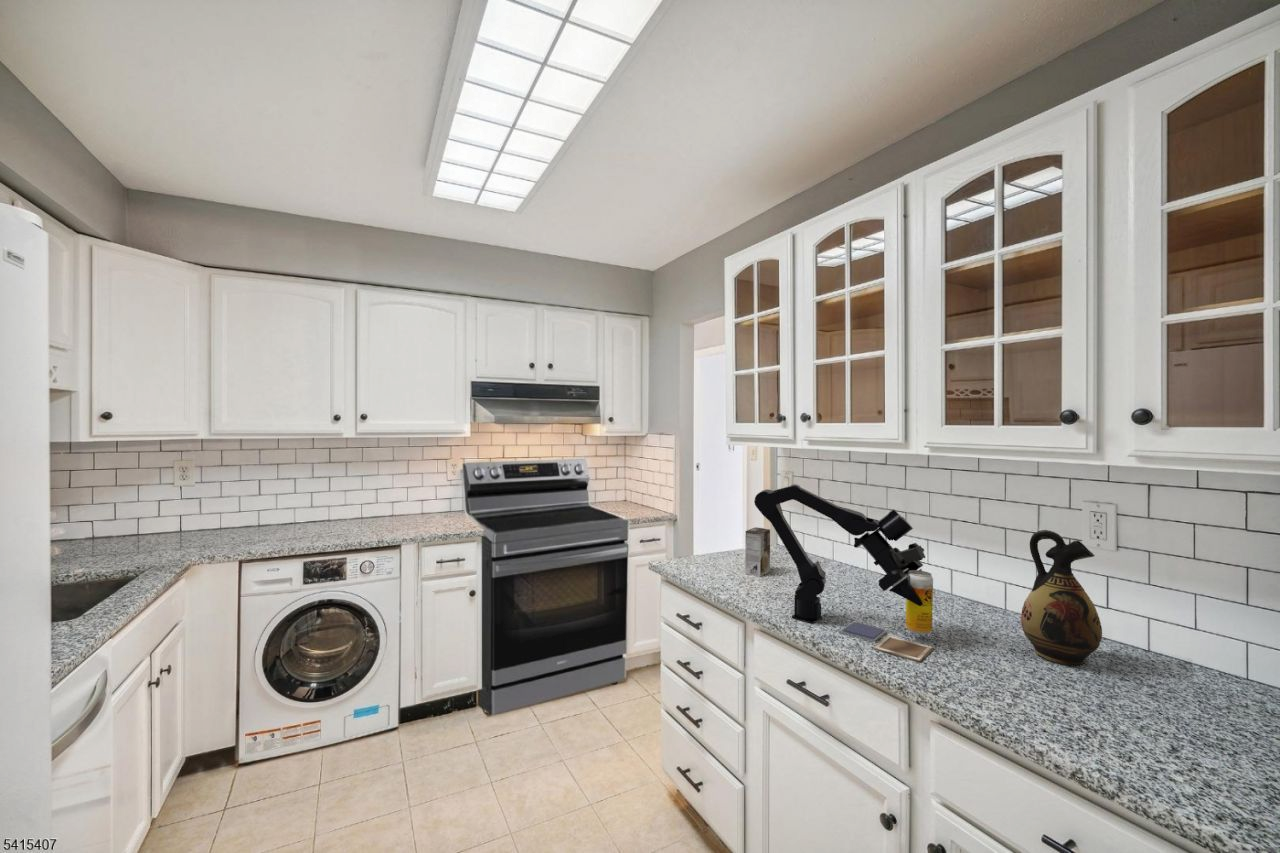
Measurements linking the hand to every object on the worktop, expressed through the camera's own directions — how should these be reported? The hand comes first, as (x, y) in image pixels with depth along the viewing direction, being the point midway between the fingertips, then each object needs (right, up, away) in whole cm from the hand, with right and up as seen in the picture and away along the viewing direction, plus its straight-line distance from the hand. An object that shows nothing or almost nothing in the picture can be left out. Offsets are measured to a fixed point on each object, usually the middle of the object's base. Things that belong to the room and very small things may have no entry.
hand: (925, 602), depth 140 cm
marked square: (-8, -10, -5) cm, 14 cm away
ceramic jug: (+27, -10, -9) cm, 30 cm away
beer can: (-1, -8, +1) cm, 8 cm away
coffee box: (-30, -10, +63) cm, 70 cm away
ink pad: (-14, -10, +5) cm, 18 cm away
